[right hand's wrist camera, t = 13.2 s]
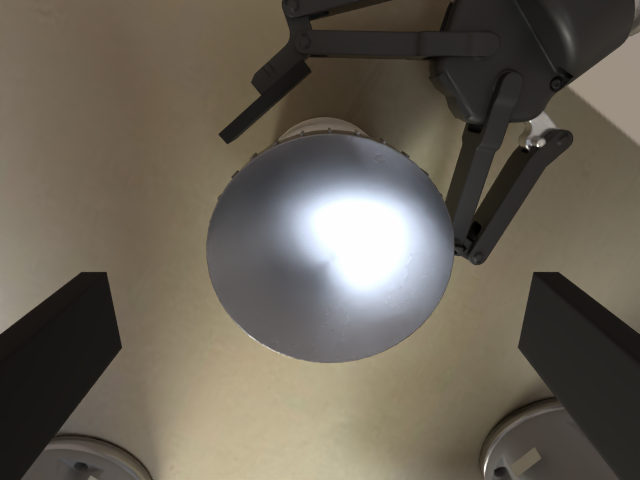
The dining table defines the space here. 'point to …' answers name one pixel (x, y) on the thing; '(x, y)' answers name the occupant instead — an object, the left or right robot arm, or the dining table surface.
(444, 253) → the lid
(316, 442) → the dining table surface
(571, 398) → the right robot arm
